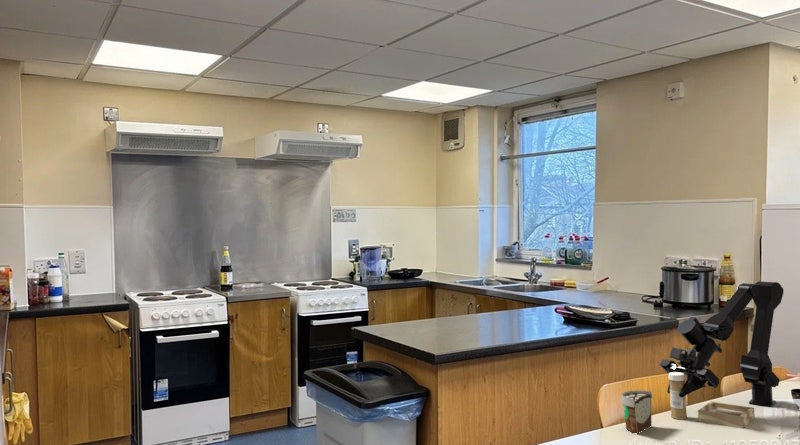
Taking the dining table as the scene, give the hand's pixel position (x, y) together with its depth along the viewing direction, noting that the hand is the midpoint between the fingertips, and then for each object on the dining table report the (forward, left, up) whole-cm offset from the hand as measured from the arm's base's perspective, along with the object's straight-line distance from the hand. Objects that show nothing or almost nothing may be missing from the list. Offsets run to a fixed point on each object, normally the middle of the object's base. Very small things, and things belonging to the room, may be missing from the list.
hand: (674, 394), depth 184 cm
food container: (+16, -6, -7) cm, 19 cm away
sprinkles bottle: (-1, +1, -7) cm, 7 cm away
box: (-8, +12, -7) cm, 16 cm away
